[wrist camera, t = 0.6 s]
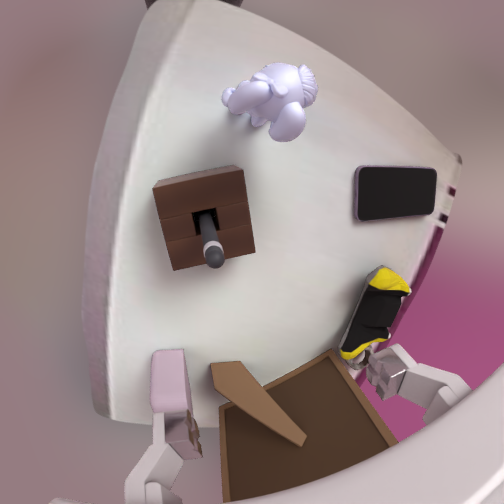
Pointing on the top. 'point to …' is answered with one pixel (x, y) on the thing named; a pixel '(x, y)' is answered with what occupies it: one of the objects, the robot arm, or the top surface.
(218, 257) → the stylus
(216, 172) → the pen block
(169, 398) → the electronic device
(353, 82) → the top surface
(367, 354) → the wristwatch
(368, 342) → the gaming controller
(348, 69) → the top surface
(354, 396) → the photo frame
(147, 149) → the top surface
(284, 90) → the toy figurine
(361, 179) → the smartphone
